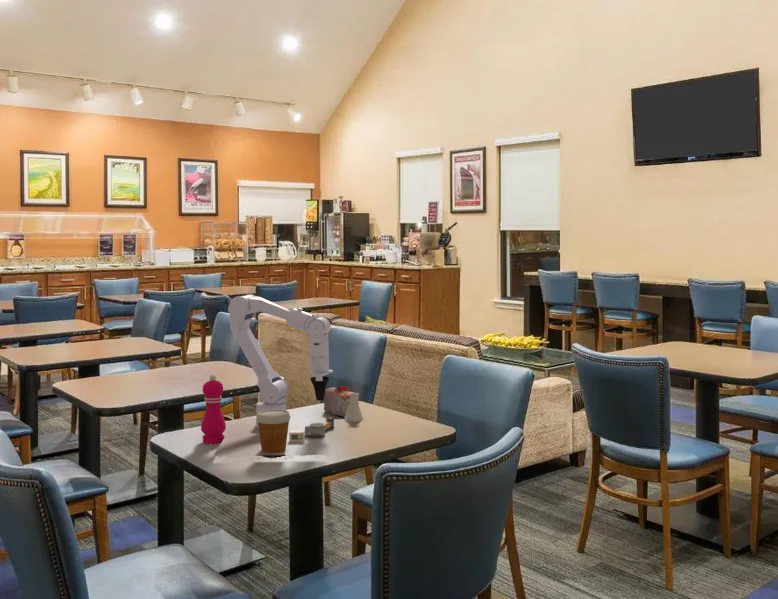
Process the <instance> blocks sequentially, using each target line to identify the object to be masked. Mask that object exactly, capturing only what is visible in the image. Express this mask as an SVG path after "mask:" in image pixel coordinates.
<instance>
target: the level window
mask: <svg viewBox="0 0 778 599" xmlns="http://www.w3.org/2000/svg"><path fill="white" fill-rule="evenodd" d="M288 432H289V433H288V435H289V436H288V437H289V438H288V442H289V443H298V442H299V443H304V442H305V441H306V437H305V429H304V430H303V429H302V430H296V429H295V430H294V429H293V430H289V431H288Z"/></svg>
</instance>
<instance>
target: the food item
mask: <svg viewBox="0 0 778 599" xmlns="http://www.w3.org/2000/svg"><path fill="white" fill-rule="evenodd" d="M350 393H354V392H353V391H350V388H349V387H348V386H346V385H345V386H344V385H339V386H337V387H336V386H335V387H329V388H325V395H324V400H323V409H324V412H327V413H329V412H330V413H329V414H331V415H333V416H340V417H342V416H343V417H342V418H345V415H346V413H347V410H348V407H349V402H350V396H349V394H350ZM359 401H360V395H359V396H358V404H359V405H360V403H359Z"/></svg>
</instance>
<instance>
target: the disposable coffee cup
mask: <svg viewBox="0 0 778 599" xmlns="http://www.w3.org/2000/svg"><path fill="white" fill-rule="evenodd" d="M291 418H292V417H291V415H290V412H289V411H288V410H287V409H286V410H278V409H273V410H264V411H260V412H258V415H257V417H256V416H255V420H256V419H257V421H258V426H259V428H258V433H259V440H260V447H261V451H262V453H265V454H263V455H262V457H263V458H268V459H278V458H277V457H279V458H283V457H285V456H284V455H285V454H280V453H284V452H286V448H287V442H288V435H289V433H288V432H289V423H290V421H291ZM282 456H283V457H282Z"/></svg>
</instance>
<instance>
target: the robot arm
mask: <svg viewBox="0 0 778 599" xmlns="http://www.w3.org/2000/svg"><path fill="white" fill-rule="evenodd" d="M227 311H228V313H229V326H230V331H231V332H232V335H233V336H234V338H235V340H236V341H237V343H238V345H239V347H240V349H241V351H242V353H243V354H244V356H245V357H246V359H247V361H248V363H249V364H250V367H251V368H252V371H253V372H254V373H255V376H256V377H257V387H258V388H259V395H260V398H261V400H262V402H257V403H256V408H255V413H256V414H255V428H256V429H259V426H258V421H257V419H256V417H257V415H258V412H260V411H264V410H273V409H278V410H286V411H287V398H286V396H288V394H289V390H290V389H289V388H290V386H289V384H288V382H287V381H286V380H285V379H283V378H282V377H281V375H280V373H278V372H277V371H276V370H274V369H273V367H272V365H271V364H270V362H269V360H268V359H267V356H266V355H265V353H264V351H263V350H262V348H261V346H260V344H259V343H258V341H257V338H256V337H255V335H254V334H253V332H252V330H251V328H250V324H251V321H252V319H253V318H254V316H255V314H257V313H261V312H262V313H265V314H268V315H272V316H274V317H276V318H280V319H282V320H285V322H286V324H287V325H288V326H290V327H292V328H295V329H298V330H300V331H302V332H305V333H307V334H308V335H309V354H310V355H309V357H310V358H309V359H310V361H309V363H310V367H309V369H310V370H309V375H312V376H311V377H310V381H311V382H310V383H311V384H312V386H313V390H314V394H315V399H316V401H324V395H325V390H326V389H327V385H328V382H329V381H330V375H328V374H333V373H334V371H333V369H330V357H329V354H330V353H329V352H330V349H329V346H330V345H329V333H330V331H331V323H330V321H329V319H328V318H326V317H324V316H317V314H316V313H313V314H312V313H309V312H306V311H305V310H304V311H303V308H302V307H297V308H296V307H294V308H292V309H288V308H285V307H284V306H281V305H279V304H278V303H277V304H276V302H273V301H270V300H268V299H265V298H263V297H261V296H256V295H254V294H250V293H249V294H246V295H241V296H240V295H238V296H235V297H233V298H232V299H231V300H230V302H229V304H228V308H227Z"/></svg>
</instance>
